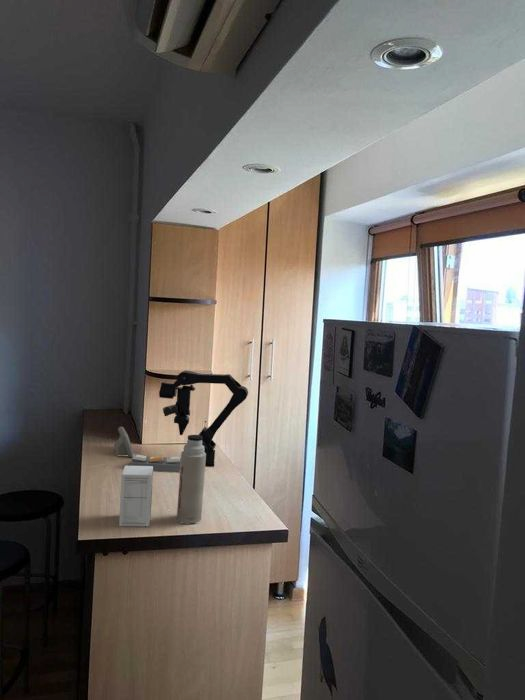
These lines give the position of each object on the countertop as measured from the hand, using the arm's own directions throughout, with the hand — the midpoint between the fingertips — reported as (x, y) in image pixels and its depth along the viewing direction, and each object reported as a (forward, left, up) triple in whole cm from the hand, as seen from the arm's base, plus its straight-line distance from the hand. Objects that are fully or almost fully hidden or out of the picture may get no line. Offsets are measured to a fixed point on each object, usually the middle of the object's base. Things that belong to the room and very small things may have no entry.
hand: (181, 435), depth 241 cm
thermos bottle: (-7, +62, -12) cm, 63 cm away
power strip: (+9, +10, -12) cm, 18 cm away
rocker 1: (+16, +12, -8) cm, 21 cm away
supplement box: (+10, +65, -12) cm, 67 cm away
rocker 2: (+2, +12, -8) cm, 14 cm away
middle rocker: (+9, +12, -8) cm, 17 cm away
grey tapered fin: (+25, -8, -12) cm, 29 cm away
